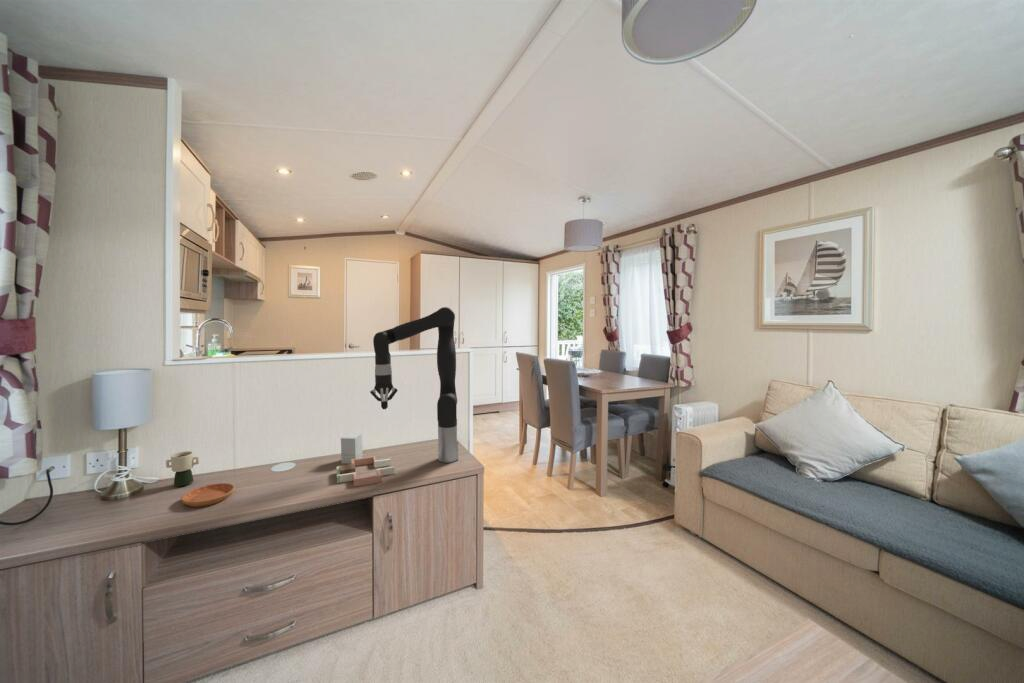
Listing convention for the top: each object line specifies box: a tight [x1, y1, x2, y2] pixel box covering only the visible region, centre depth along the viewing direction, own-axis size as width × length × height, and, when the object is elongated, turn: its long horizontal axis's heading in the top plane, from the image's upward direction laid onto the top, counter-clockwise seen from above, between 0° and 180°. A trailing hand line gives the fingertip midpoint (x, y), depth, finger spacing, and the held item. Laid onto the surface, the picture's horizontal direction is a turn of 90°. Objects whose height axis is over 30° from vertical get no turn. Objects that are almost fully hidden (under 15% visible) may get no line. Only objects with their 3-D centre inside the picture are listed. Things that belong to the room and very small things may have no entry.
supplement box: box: [340, 433, 364, 465], centre depth 186 cm, size 7×7×13 cm
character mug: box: [165, 450, 200, 487], centre depth 159 cm, size 11×7×13 cm, turn 114°
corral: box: [336, 455, 395, 487], centre depth 173 cm, size 24×24×3 cm
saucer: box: [181, 482, 235, 508], centre depth 148 cm, size 16×16×3 cm
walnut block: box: [339, 464, 356, 475], centre depth 169 cm, size 6×6×4 cm
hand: (384, 408), depth 184 cm, fingers closed
